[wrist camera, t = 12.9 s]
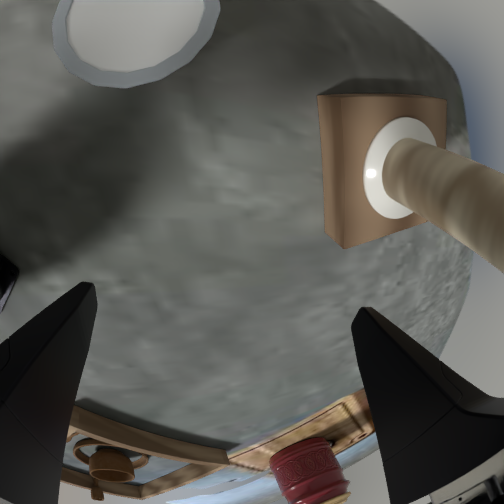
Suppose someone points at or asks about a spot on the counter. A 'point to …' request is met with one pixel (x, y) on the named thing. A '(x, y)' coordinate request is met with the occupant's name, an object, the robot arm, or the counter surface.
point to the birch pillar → (449, 194)
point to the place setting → (107, 464)
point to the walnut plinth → (370, 159)
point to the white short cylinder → (130, 38)
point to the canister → (310, 473)
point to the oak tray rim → (147, 443)
